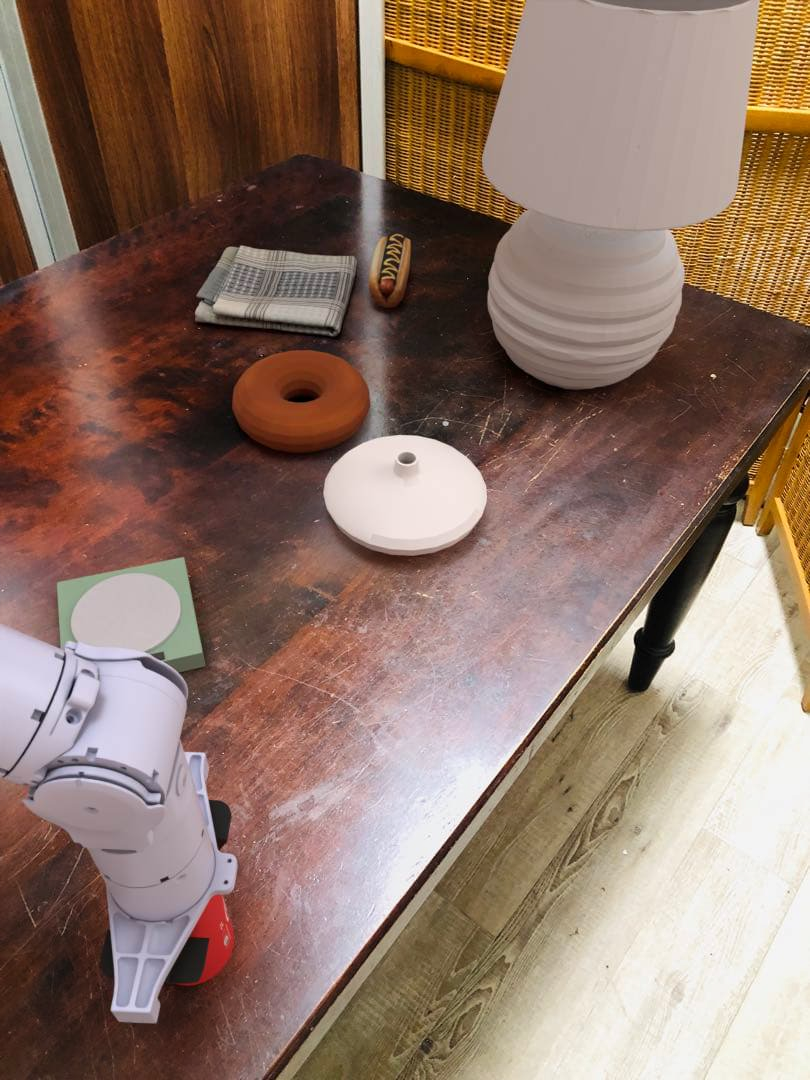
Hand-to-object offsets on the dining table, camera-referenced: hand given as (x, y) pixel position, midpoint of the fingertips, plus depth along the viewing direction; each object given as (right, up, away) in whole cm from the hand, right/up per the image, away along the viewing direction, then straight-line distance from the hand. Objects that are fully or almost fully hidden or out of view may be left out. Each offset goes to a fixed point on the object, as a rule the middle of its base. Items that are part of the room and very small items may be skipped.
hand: (187, 928), depth 55 cm
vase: (+14, +27, +32) cm, 44 cm away
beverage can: (0, -3, +3) cm, 4 cm away
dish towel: (-2, +56, +58) cm, 80 cm away
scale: (-10, +17, +20) cm, 28 cm away
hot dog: (+12, +57, +60) cm, 84 cm away
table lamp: (+33, +46, +50) cm, 75 cm away
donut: (+3, +38, +41) cm, 56 cm away
